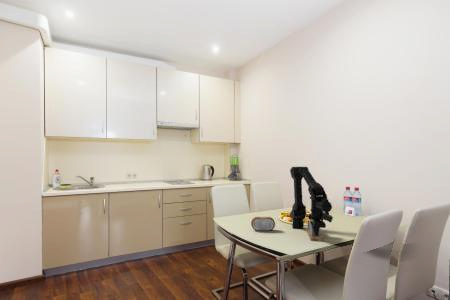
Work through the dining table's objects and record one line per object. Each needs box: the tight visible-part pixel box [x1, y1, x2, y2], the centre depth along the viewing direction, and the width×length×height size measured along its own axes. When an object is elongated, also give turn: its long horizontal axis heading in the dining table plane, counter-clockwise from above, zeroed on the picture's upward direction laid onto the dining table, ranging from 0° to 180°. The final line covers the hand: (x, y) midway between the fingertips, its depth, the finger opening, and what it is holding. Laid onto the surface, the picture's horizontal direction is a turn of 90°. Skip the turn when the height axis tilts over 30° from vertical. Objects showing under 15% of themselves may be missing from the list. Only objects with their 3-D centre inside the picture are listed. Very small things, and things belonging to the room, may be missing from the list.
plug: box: [308, 220, 319, 236], centre depth 152 cm, size 4×12×5 cm, turn 170°
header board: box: [305, 220, 325, 242], centre depth 151 cm, size 7×19×6 cm, turn 170°
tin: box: [250, 216, 276, 232], centre depth 160 cm, size 15×3×8 cm, turn 92°
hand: (316, 235), depth 143 cm, fingers closed
